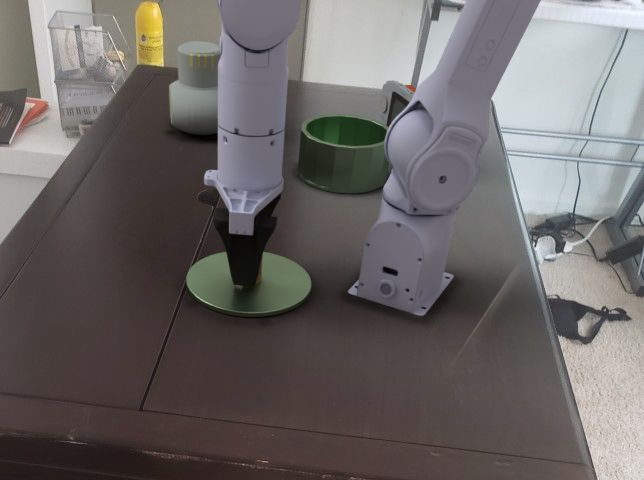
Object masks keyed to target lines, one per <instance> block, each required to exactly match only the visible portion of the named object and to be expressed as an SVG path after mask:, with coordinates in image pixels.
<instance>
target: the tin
mask: <svg viewBox="0 0 644 480" xmlns="http://www.w3.org/2000/svg"><path fill="white" fill-rule="evenodd" d="M388 128H389V127H388V126H386V125H385V124H382V123H380V122H378V121H376V119H373V118H370V117H364V116H359V115H354V114H353V115H352V114H341V113H337V114H323V115H318V116H317V115H316V116H313V117H310V118H308V119H307V120H305V121H304V122H302V124H301V129H300V137H299V139H300V140H299V152H298V161H297V162H298V164H297V174H298V177H299V178H300V179H301V181H303V182H304V183H306V184H307V185H309V186H311V187H312V188H316V189H318V190H322V191H326V192H330V193H336V194H350V195H351V194H363V193H369V192H373V191H376V190H378V189H380V188H382V187H384V185H385V184H386V182H387V180H388V179H387V178H388V173H389V167H390V166H389V165H390V164H389V162H388V160H387V158H386V155H385V148H384V143H385V137H386V133H387V131H388Z"/></svg>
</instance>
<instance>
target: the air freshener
mask: <svg viewBox="0 0 644 480" xmlns="http://www.w3.org/2000/svg"><path fill="white" fill-rule="evenodd" d="M220 58H221V54H220V50H219V44H217V43H214V42H210V41H201V40H200V41H198V40H195V41H187V42H183V43H181V44H180V45H179V46H178V47H177V74H178V75H177V77H178V78H177V80H175V81H173V82H171V83H170V84H169V85H168V102H169V115H170V124H171V126H172V127H174V128H176V129H177V130H179V131H180V132H183V133H186V134H189V135H193V136H211V135H216V134H217V135H218V63H219V60H220Z"/></svg>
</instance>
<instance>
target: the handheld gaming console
mask: <svg viewBox="0 0 644 480" xmlns="http://www.w3.org/2000/svg"><path fill="white" fill-rule="evenodd" d="M416 89H417V87H414V85H412V84H403V83H401V82H399V81H397V80H395V79H394V80H386V81H385V83H384V84H383V85H382V88H381V93H380V97H379V101H378V106H377V112H376V116H375V121H378V122H380V123H382V124H385V125H386V126H388V127H389V126H390V125H391V123H392V121H393V120H394V119H395V118H396V117H397V116H398V115H399V114H400V113H401V112H402V111H403V110H404V109H405V108H406V107H407V106H408V104H409V103H410V101H411V100H412V98H413V96H414V93H415V91H416Z"/></svg>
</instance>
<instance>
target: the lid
mask: <svg viewBox="0 0 644 480" xmlns="http://www.w3.org/2000/svg"><path fill="white" fill-rule="evenodd" d="M185 279H186V280H185V281H186V289H187V291H188V293H189V294H190V296H191V297H192V298H193V299H194V300H195V301H196V302H198V303H199V304H200V305H202V306H203V307H206V308H207V309H210V310H212V311H214V312H218V313H221V314H224V315H229V316H235V317H243V318H263V317H264V318H265V317H273V316H277V315H281V314H286V313H288V312H290V311H292V310H295V309H297V308H298V307H300V306H301V305H303V304H304V303H305V302H306V301H307V300H308V298H309V297H310V295H311V291H312V280H311V276H310V274H309V273H308V272H307V271H306V269H305V268H304V267H302V266H301V265H300V264H298V263H297V262H295V261H293V260H292V259H290V258H287V257H285V256H281V255H279V254H275V253H272V252H266V251H264V252H263V255H262V259H261V264H260V269H259V273H258V277H257V280H256V283H255V286H253V287H252V286H240V285H234V284H233V281H232V278H231V274H230V269H229V263H228V258H227V254H226V251H223V252H218V253H214V254H211V255H208V256H205V257H204V258H202V259H199V260H198V261H197V262H195V263H194V264H192V266H191V267H190V268H189V270H188V272H187V273H186V278H185Z"/></svg>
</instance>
